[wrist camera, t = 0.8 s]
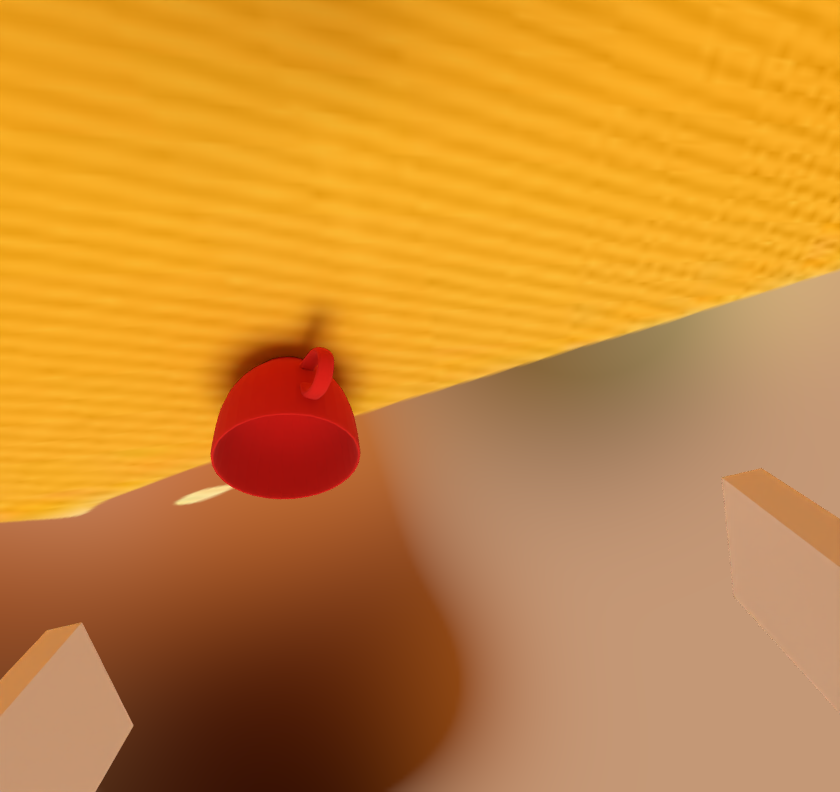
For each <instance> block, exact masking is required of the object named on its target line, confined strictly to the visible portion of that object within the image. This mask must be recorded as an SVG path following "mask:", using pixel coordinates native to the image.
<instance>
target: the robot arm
mask: <svg viewBox="0 0 840 792" xmlns="http://www.w3.org/2000/svg"><path fill="white" fill-rule="evenodd" d="M722 484H723V494H724V505H725V515H726V525H727V535H728V545H729V555H730V565H731V574H732V585H733V595H734V597H735V599H736V600H737V601H738V602H739V603H740V604H741V605H742V606H743V607H744V609H745V610H746V611H747V612H748V613H749V614H750V615H751V616H752V617H753V619H754V620H755V621H756V622H757V623H758V624H759V625H760V626H761V627H762V628H763V630H765V632H766V633H767V634H768V635H769V636H770V637H771V638H772V640H774V642H775V643H776V644H777V645H778V646H779V647H780V648H781V649H782V650H783V652H784V653H785V654H786V655H787V656H788V657H789V658H790V659H791V660H792V661H793V663H794V664H795V665H796V666H797V667H798V668H799V669H800V670H801V671H802V673H803V674H804V675H805V676H806V677H807V678H808V679H809V680H810V681H811V683H813V685H814V686H815V687H816V688H817V689H818V690H819V691H820V692H821V694H822V695H824V697H825V698H826V699H827V700H828V701H829V702H830V704H832V706H833V707H834V708H835V709H836V710H837V711H838V712H839V713H840V519H839V518H838V517H836V516H834V515H833V514H831V513H830V512H828V511H826V510H825V509H824V508H822V507H821V506H819V505H817V504H816V503H814V502H813V501H811V500H810V499H808V498H807V497H805V496H804V495H802V494H801V493H799V492H798V491H796V490H794V489H793V488H791V487H790V486H788V485H787V484H785V483H784V482H782V481H781V480H779V479H777V478H776V477H774V476H773V475H771V474H770V473H768V472H767V471H765V470H763V469H762V468H761V469H756V470H752V471H748V472H743V473H739V474H735V475H730V476H726V477H722ZM132 727H133V724H132V722H131V720H130V718H129V716H128V714H127V712H126V710H125V708H124V706H123V704H122V702H121V700H120V698H119V696H118V694H117V692H116V690H115V688H114V686H113V684H112V682H111V680H110V678H109V676H108V674H107V672H106V670H105V668H104V666H103V664H102V662H101V660H100V658H99V656H98V654H97V652H96V650H95V648H94V646H93V644H92V642H91V640H90V638H89V636H88V634H87V632H86V630H85V628H84V626H83V624H82V623H78V624H73V625H69V626H64V627H60V628H56V629H51V630H47V631H46V632H45V633H44V634H43V635H42V636H41V637H40V638H39V640H37V642H36V643H35V644H34V645H33V646H32V647H31V648H30V649H29V650H28V651H27V652H26V654H24V656H22V657H21V659H20V660H19V661H18V662H17V663H16V664H15V665H14V666H13V667H12V668H11V669H10V670H9V671H8V672H7V673H6V675H5V676H4V677H3V678H2V679H1V680H0V792H95V791H96V790H97V788H98V786H99V784H100V783H101V781H102V779H103V778H104V776H105V774H106V772H107V770H108V769H109V767H110V765H111V764H112V762H113V760H114V758H115V757H116V755H117V753H118V751H119V749H120V748H121V746H122V744H123V743H124V741H125V739H126V737H127V736H128V734H129V732H130V730H131V729H132Z"/></svg>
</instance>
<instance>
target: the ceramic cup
mask: <svg viewBox="0 0 840 792" xmlns="http://www.w3.org/2000/svg"><path fill="white" fill-rule="evenodd" d="M317 365H318V366H317ZM333 371H334V357H333V354H332V353H331V352H330V351H329V350H327V349H325V348H321V347H316V348H314V349H312V350H311V351H310V352H309V353H308V354H307V355H306V357H305V358H304V359H300V358H295V357H279V358H275V359H272V360H269V361H267V362H265V363H263V364H261V365H259V366H257V367H255V368H254V369H252V370H251V371H249V372H248V373H246V374H245V375H244V376H243V377H242V378H241V379H240V380H239V381H238V382H237V383H236V384H235V385H234V386H233V388H232V389H231V391H230V392H229V394H228V396H227V398H226V400H225V401H224V403H223V405H222V408H221V410H220V413H219V416H218V420H217V423H216V427H215V432H214V437H213V442H212V448H211V461H212V466H213V468H214V470H215V472H216V474H217V475H218V476H219V477H220V478H221V479H222V480H223V481H224V482H225V483H227V484H228V485H230V486H231V487H233V488H235V489H237V490H239V491H242V492H244V493H247V494H250V495H253V496H259V497H263V498H271V499H295V498H302V497H309V496H312V495H317V494H320V493H322V492H325V491H328V490H330V489H332V488H334V487H336V486H338V485H339V484H341V483H342V482H344V481H345V480H346V479H347V478H349V477H350V476H351V474H352V473H353V472H354V471H355V469H356V467H357V465H358V463H359V459H360V446H359V439H358V433H357V428H356V423H355V419H354V415H353V412H352V409H351V406H350V404H349V402H348V400H347V398H346V396H345V394H344V392H343V390H342V389H341V387H340V386H339V385H338V384H337V382H336V381H335V380H334V379H333V378H332V376H333Z"/></svg>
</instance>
